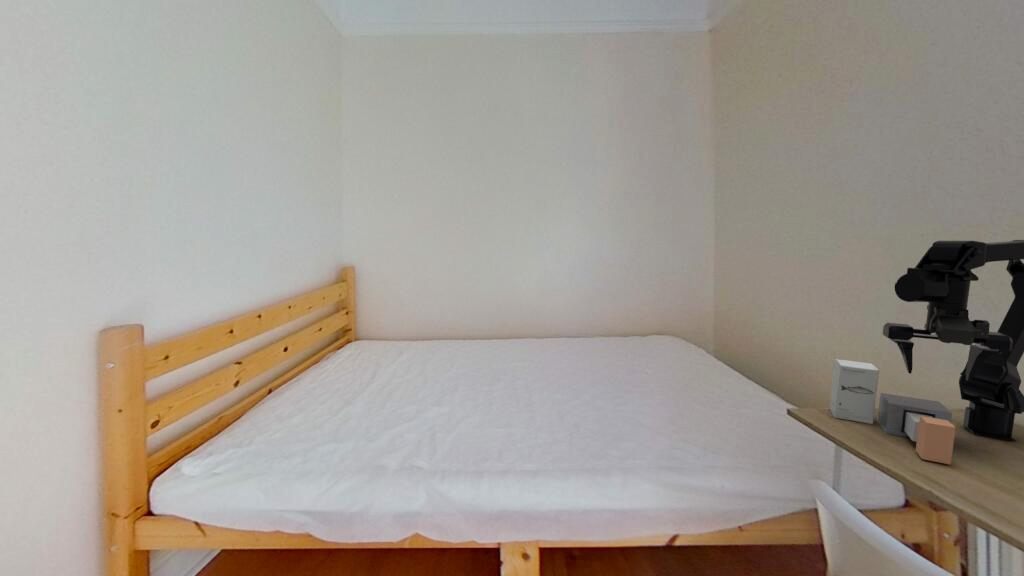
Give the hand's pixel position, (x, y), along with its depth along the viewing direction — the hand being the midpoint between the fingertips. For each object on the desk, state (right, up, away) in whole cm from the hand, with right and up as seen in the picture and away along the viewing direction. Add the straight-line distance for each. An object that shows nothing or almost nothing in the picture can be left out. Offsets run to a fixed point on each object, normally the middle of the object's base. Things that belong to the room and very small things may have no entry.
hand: (938, 376), depth 94 cm
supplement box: (-9, -12, +12) cm, 19 cm away
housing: (-3, -13, +4) cm, 13 cm away
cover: (-7, -13, -5) cm, 16 cm away
